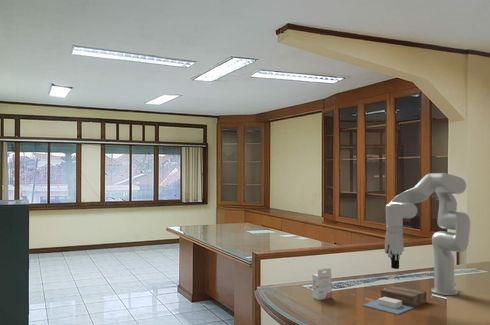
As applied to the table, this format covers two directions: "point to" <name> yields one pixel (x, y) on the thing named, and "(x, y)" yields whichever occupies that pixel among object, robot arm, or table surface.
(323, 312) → the table surface
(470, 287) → the table surface
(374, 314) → the table surface
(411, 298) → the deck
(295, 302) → the table surface
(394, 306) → the block
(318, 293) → the ink cartridge box
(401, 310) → the mat
